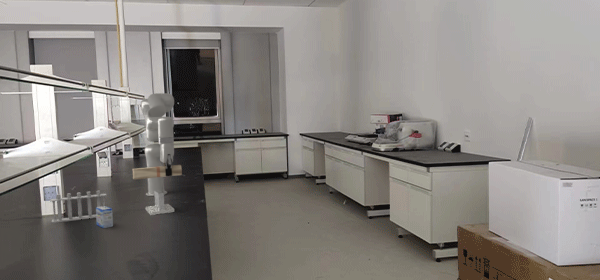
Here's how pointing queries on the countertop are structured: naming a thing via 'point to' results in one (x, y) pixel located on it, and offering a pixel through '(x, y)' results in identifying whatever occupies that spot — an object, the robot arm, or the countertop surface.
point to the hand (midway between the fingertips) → (167, 174)
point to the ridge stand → (159, 205)
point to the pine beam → (155, 172)
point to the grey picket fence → (78, 206)
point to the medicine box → (104, 217)
